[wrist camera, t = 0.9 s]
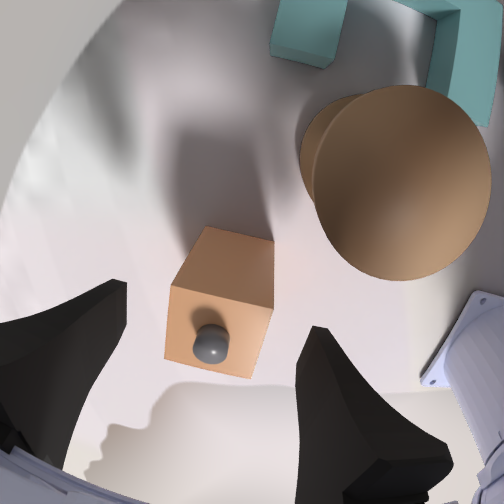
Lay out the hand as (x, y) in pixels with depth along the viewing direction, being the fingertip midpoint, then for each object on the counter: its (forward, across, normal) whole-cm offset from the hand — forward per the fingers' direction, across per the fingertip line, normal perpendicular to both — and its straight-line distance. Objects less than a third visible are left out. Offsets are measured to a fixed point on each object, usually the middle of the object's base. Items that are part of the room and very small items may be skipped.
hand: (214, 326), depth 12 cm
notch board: (+5, -5, -14) cm, 16 cm away
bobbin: (+5, -5, -7) cm, 10 cm away
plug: (+5, 0, 0) cm, 5 cm away
